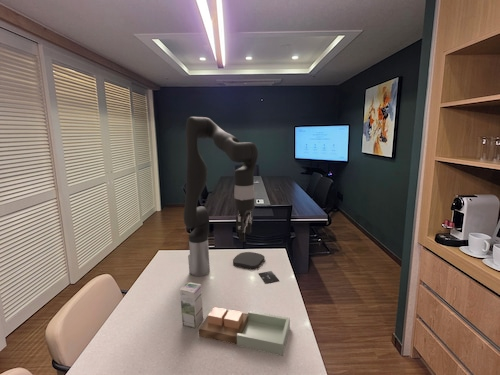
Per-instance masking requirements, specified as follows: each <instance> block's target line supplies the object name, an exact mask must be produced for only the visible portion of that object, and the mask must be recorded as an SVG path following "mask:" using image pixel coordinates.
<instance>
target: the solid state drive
mask: <svg viewBox="0 0 500 375" xmlns="http://www.w3.org/2000/svg"><path fill="white" fill-rule="evenodd" d="M258 275H259V277H260V278H261V280H262V281H263V283H264V284H265V285H268V284H271V283H277V282H280V280H279V278H278V277H277V276H276V274H275V273H274V272H273V271H272V270H269V271H268V270H267V271H264V272H260V273H258Z"/></svg>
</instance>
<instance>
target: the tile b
mask: <svg viewBox="0 0 500 375" xmlns="http://www.w3.org/2000/svg"><path fill="white" fill-rule="evenodd" d="M242 320H243V311H238V310H232V309H228V313H227V314H226V316H225V318H224V326H225V327H230V328H235V329H238V328H239V326H240V324H241V322H242Z"/></svg>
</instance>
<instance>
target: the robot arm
mask: <svg viewBox="0 0 500 375" xmlns="http://www.w3.org/2000/svg"><path fill="white" fill-rule="evenodd" d="M185 139H186V141H185V142H186V178H185V180H186V181H185V182H186V185H185V186H186V187H185V201H184V207H183V208H184V209H183V222H184V225H185V227H186V228H187V229H193V230H192V231H191V232H190V233H189V235H188V246H189V254H188V256H187V257H188V258H187V259H188V271H189V272H188V274H190V275H192V276H194V277H204V276H206V275H208V274H210V272H211V271H210V269H211V268H210V254H209V253H210V252H209V249H210V248H209V235H210V215H209V212H208V209H207V208H206V207H205V206H203V205H201V206H198V202H199V198H200V196H201V195H202V193H203V192H204V189H205V187H206V184H207V182H208V181H207V180H208V178H207V176H208V167H207V164H206V162H205V161H204V159H203V157H202V155H201V154H200V151H199V146H198V139H199V140H200V139H211V140H212V141H213V144H214V145H215V147H217V148H218V149H219V150H221V151H222V152H224V153H225V154H226V155H227V157H228V158H229V160H231V161H232V162H235V163H242V166H241V167H239V168H237V169H235V170H234V175H233V176H234V195H233V196H234V197H233V198H234V200H233V201H234V209H235V210H236V211H238V212H239V213H238V215H235V216H236V217H235V232H236V233H238V242H241V243H244V242H246V234H247V235H250V234H252V224H253V221H254V218H253V217H254V214H253V213H254V212H253V211H254V209H255V204H256V203H255V187H254V178H255V177H254V172H255V169H256V166H257V160H258V156H259V155H258V154H259V152H258V147H257V145H256V144H255V143H253V142H251V141H249V142H248V141H247V142H245V141H244V142H240V140H239V139H238V137H236V136H234V135H232V134H231V133H229V132H226V131H225V130H223V129H222V128H221V127H220V126H219V125H218V124H216V123H215V122H214V121H213V120H212V119H211V118H209V117H204V116H189V117H188V118H187V119H186V122H185Z"/></svg>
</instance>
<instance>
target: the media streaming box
mask: <svg viewBox="0 0 500 375" xmlns="http://www.w3.org/2000/svg"><path fill="white" fill-rule="evenodd" d="M264 262H265V256H264V254H261V253H258V252H253V251H243V252H239V253H238V254H237V255H236V256H234V258H233V259H232V265H233V266H234V267H236V268H237V267H238V268H241V269H247V270H257V269H259V268H260V267H261V266H262V265H263V264H264Z"/></svg>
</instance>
